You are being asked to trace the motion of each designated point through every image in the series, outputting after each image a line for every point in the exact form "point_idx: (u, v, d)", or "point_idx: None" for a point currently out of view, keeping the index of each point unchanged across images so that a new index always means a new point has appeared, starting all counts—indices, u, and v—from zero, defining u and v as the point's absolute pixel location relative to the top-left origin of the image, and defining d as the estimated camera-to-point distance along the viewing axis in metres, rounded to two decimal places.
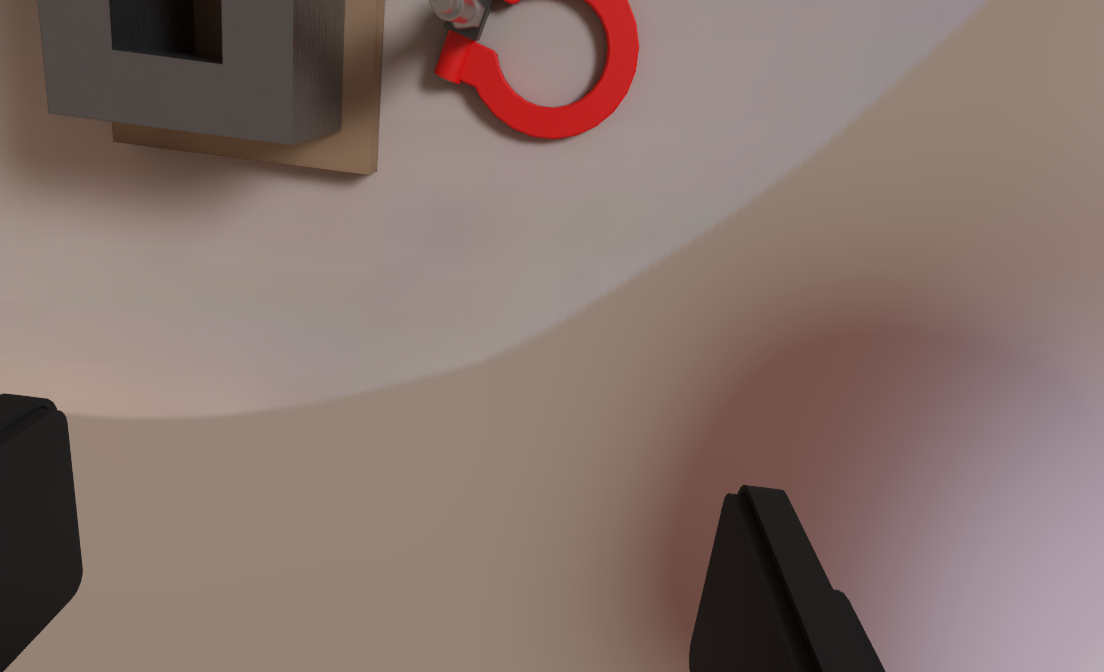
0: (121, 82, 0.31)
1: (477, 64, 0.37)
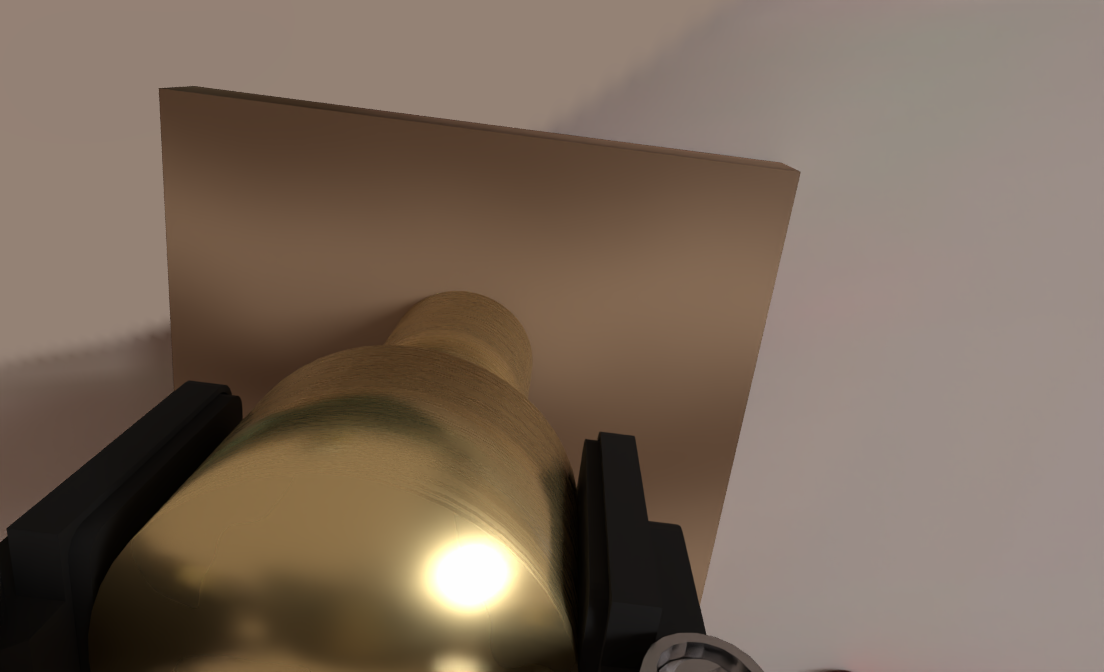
0: None
1: None
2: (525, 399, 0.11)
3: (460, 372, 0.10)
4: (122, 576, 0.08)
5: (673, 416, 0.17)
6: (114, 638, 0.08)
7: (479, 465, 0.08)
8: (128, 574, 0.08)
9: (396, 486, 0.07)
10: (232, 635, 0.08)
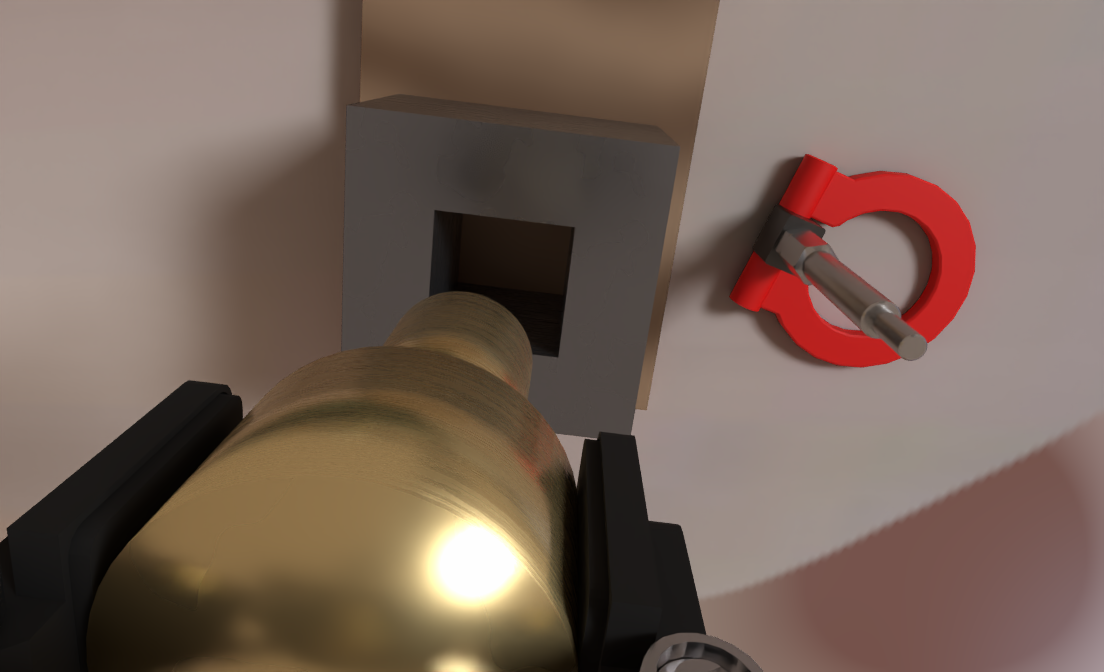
0: None
1: (784, 291, 0.32)
2: (525, 400, 0.11)
3: (459, 373, 0.10)
4: (121, 577, 0.08)
5: None
6: (111, 641, 0.08)
7: (479, 466, 0.08)
8: (126, 576, 0.08)
9: (396, 488, 0.07)
10: (230, 638, 0.08)
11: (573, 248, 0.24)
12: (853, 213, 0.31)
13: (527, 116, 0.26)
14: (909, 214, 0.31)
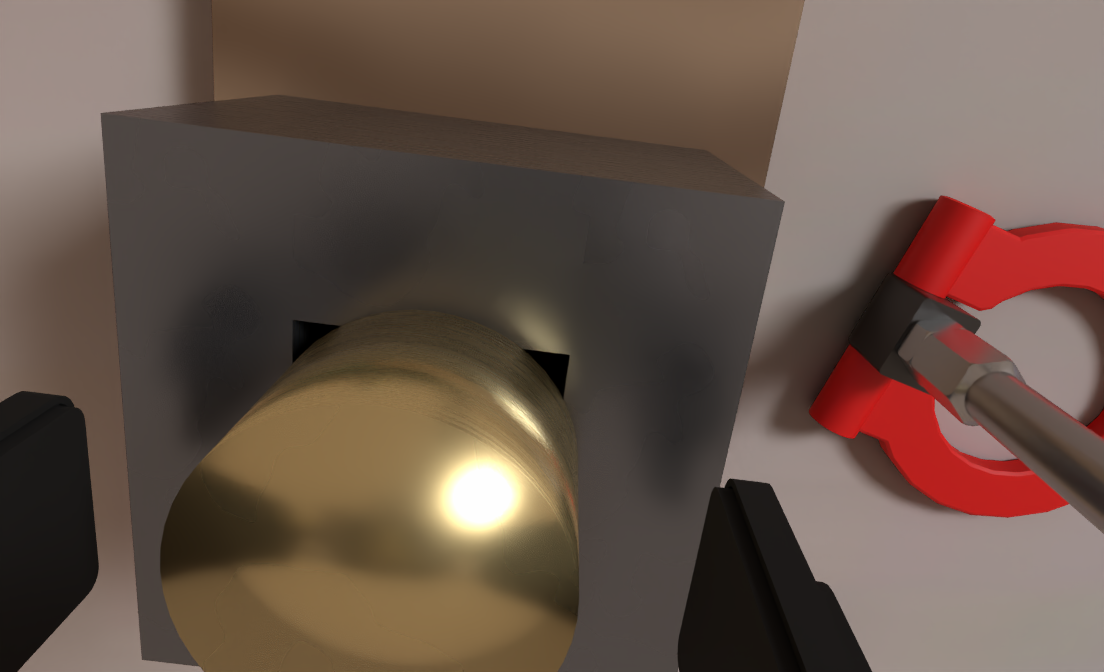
0: None
1: (897, 407, 0.20)
2: (531, 358, 0.12)
3: (473, 332, 0.11)
4: (191, 493, 0.09)
5: None
6: (181, 549, 0.09)
7: (493, 405, 0.10)
8: (196, 492, 0.09)
9: (425, 415, 0.09)
10: (282, 546, 0.09)
11: (566, 393, 0.12)
12: (1014, 290, 0.19)
13: (485, 135, 0.15)
14: (1103, 292, 0.19)
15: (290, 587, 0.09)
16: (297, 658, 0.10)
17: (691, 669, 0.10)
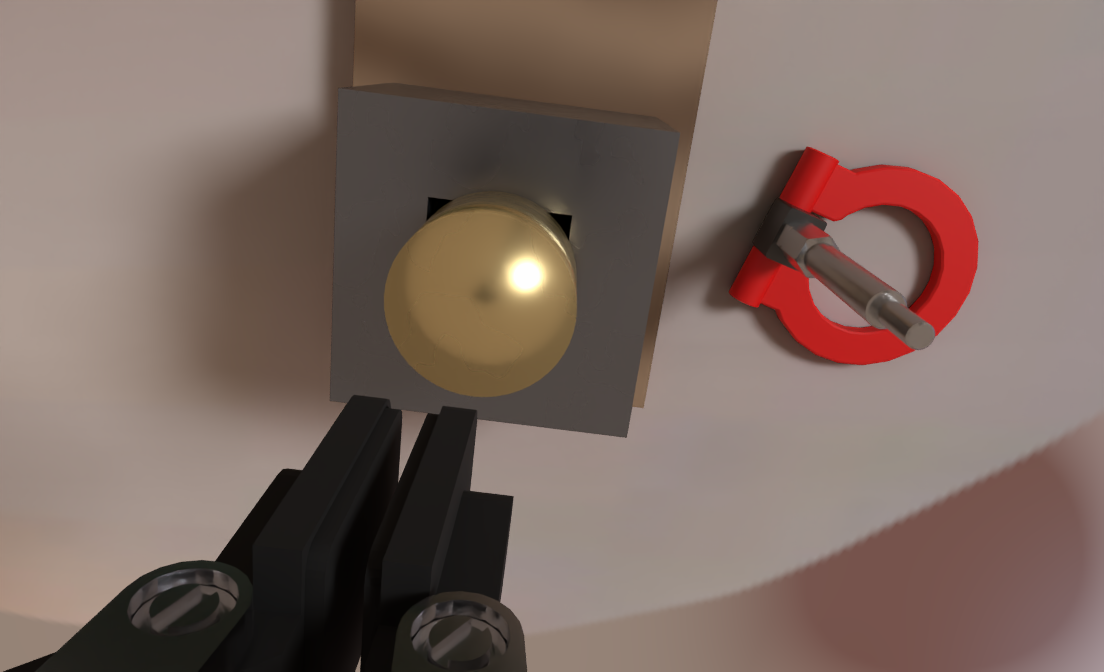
0: None
1: (784, 286, 0.31)
2: (552, 217, 0.23)
3: (523, 200, 0.22)
4: (402, 257, 0.20)
5: None
6: (395, 285, 0.20)
7: (536, 223, 0.21)
8: (404, 256, 0.20)
9: (509, 218, 0.20)
10: (441, 283, 0.20)
11: (570, 237, 0.23)
12: (854, 207, 0.30)
13: (523, 104, 0.26)
14: (911, 208, 0.30)
15: (443, 305, 0.20)
16: (444, 343, 0.21)
17: None
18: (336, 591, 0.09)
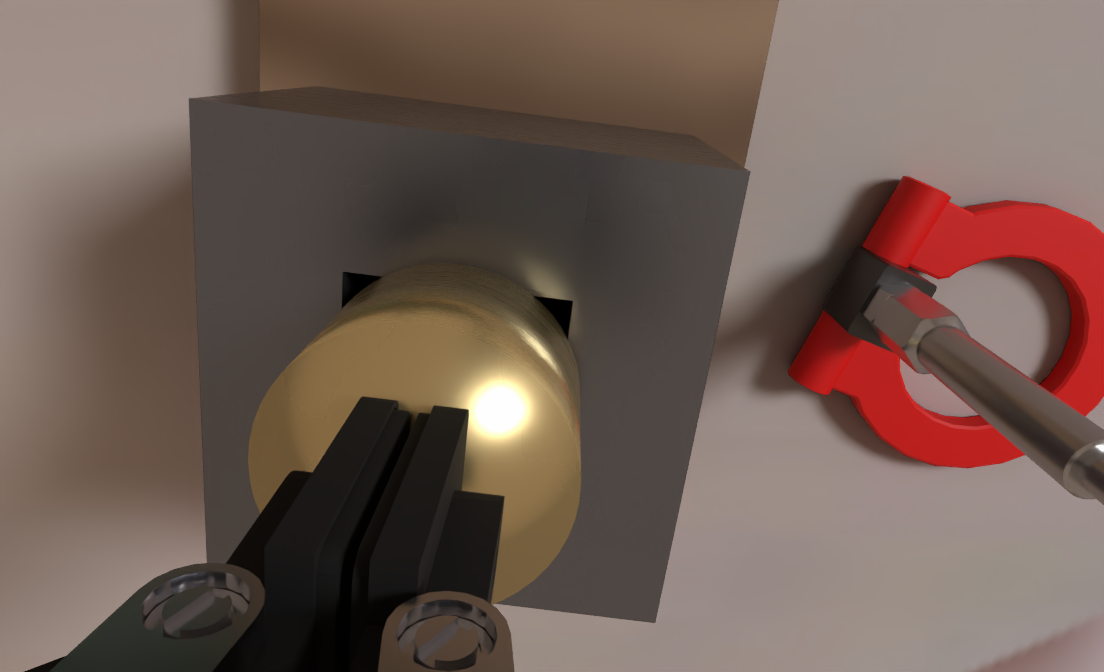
0: None
1: (866, 367, 0.23)
2: (540, 303, 0.14)
3: (493, 280, 0.14)
4: (275, 397, 0.11)
5: None
6: (266, 443, 0.12)
7: (512, 330, 0.12)
8: (279, 395, 0.11)
9: (461, 331, 0.11)
10: None
11: (570, 334, 0.15)
12: (969, 260, 0.22)
13: (500, 120, 0.17)
14: (1048, 262, 0.22)
15: None
16: None
17: None
18: (347, 594, 0.09)
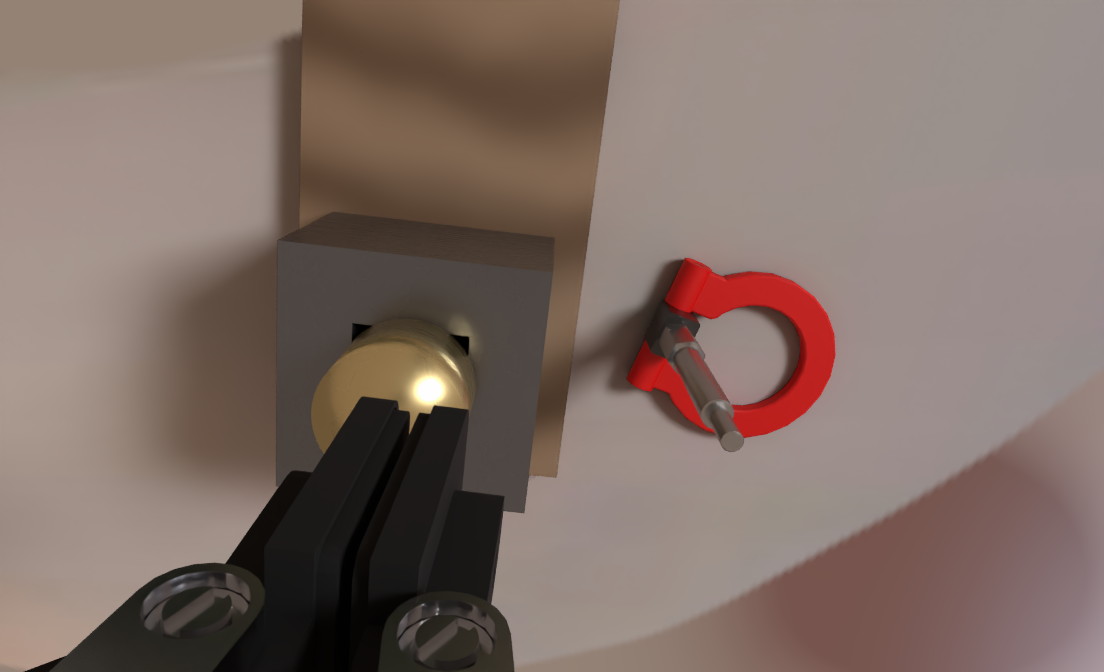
0: None
1: (672, 373, 0.37)
2: (453, 338, 0.28)
3: (428, 326, 0.28)
4: (324, 382, 0.25)
5: (573, 68, 0.32)
6: (319, 404, 0.26)
7: (433, 351, 0.26)
8: (326, 381, 0.25)
9: (408, 352, 0.25)
10: (356, 402, 0.25)
11: (469, 353, 0.29)
12: (727, 307, 0.36)
13: (437, 237, 0.31)
14: (775, 308, 0.36)
15: None
16: None
17: None
18: (347, 593, 0.09)
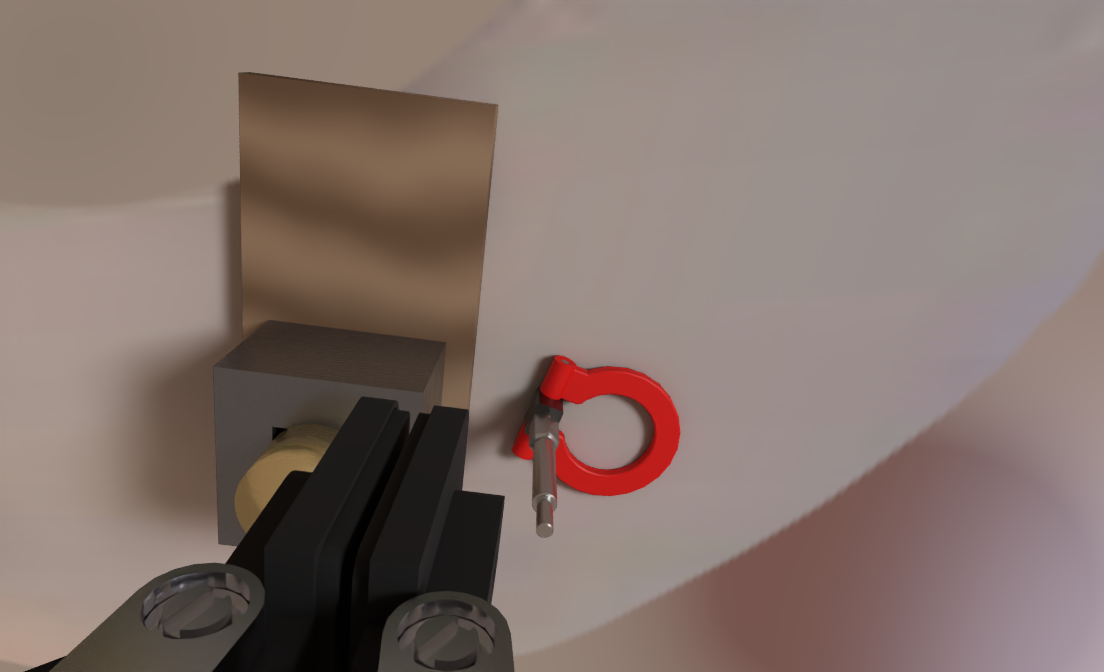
0: None
1: None
2: None
3: (329, 431, 0.36)
4: (243, 482, 0.34)
5: (455, 214, 0.40)
6: (240, 497, 0.34)
7: None
8: (245, 481, 0.34)
9: (304, 461, 0.34)
10: (267, 496, 0.34)
11: None
12: (589, 395, 0.44)
13: (345, 350, 0.40)
14: (629, 396, 0.44)
15: None
16: None
17: None
18: (347, 593, 0.09)
